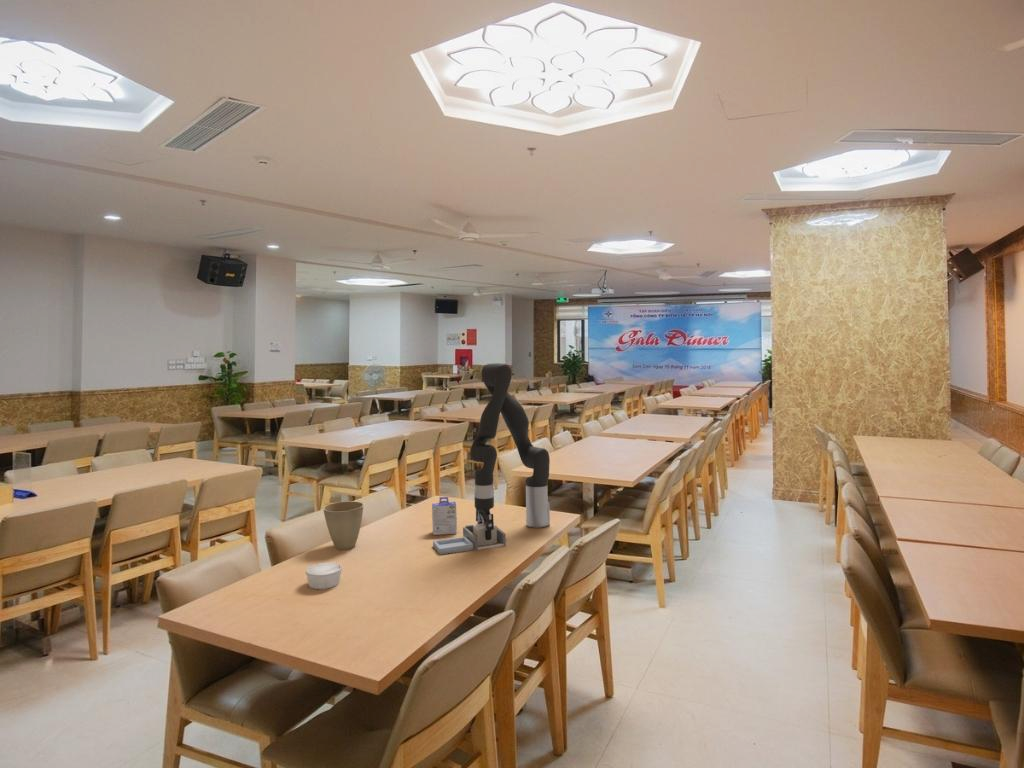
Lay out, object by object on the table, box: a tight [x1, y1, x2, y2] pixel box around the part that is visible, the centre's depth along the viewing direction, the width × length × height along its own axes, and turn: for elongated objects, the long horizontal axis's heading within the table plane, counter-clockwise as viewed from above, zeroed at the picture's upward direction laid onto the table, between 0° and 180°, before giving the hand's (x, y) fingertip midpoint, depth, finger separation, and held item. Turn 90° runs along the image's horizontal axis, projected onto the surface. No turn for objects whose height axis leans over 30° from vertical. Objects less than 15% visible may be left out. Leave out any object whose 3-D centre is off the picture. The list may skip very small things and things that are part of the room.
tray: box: [432, 536, 475, 556], centre depth 223 cm, size 13×10×2 cm
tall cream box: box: [472, 523, 498, 547], centre depth 229 cm, size 8×5×7 cm, turn 112°
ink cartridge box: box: [431, 496, 458, 536], centre depth 242 cm, size 10×6×14 cm, turn 98°
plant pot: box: [322, 500, 364, 551], centre depth 226 cm, size 15×15×16 cm
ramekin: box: [305, 561, 343, 590], centre depth 191 cm, size 11×11×5 cm
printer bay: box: [462, 524, 507, 551], centre depth 230 cm, size 13×15×5 cm
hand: (484, 536), depth 229 cm, fingers open, 8 cm apart
